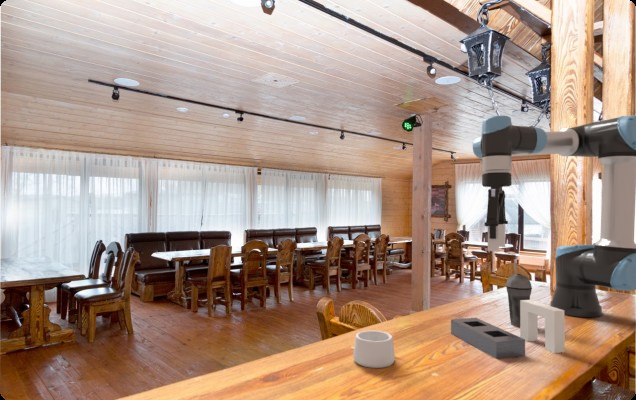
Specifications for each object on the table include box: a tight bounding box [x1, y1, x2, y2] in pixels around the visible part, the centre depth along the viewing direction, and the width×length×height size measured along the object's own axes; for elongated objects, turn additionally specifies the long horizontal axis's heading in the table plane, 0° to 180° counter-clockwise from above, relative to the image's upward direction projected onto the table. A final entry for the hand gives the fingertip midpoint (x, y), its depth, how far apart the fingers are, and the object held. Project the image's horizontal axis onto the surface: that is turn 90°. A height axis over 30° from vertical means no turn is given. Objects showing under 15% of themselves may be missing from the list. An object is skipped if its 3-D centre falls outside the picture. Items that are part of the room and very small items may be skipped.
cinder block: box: [450, 317, 526, 360], centre depth 110 cm, size 8×20×4 cm, turn 13°
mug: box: [352, 329, 395, 369], centre depth 99 cm, size 12×10×6 cm
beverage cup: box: [505, 258, 533, 328], centre depth 127 cm, size 7×7×20 cm
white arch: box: [519, 299, 566, 354], centre depth 109 cm, size 12×3×10 cm, turn 13°
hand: (496, 248), depth 115 cm, fingers open, 13 cm apart
